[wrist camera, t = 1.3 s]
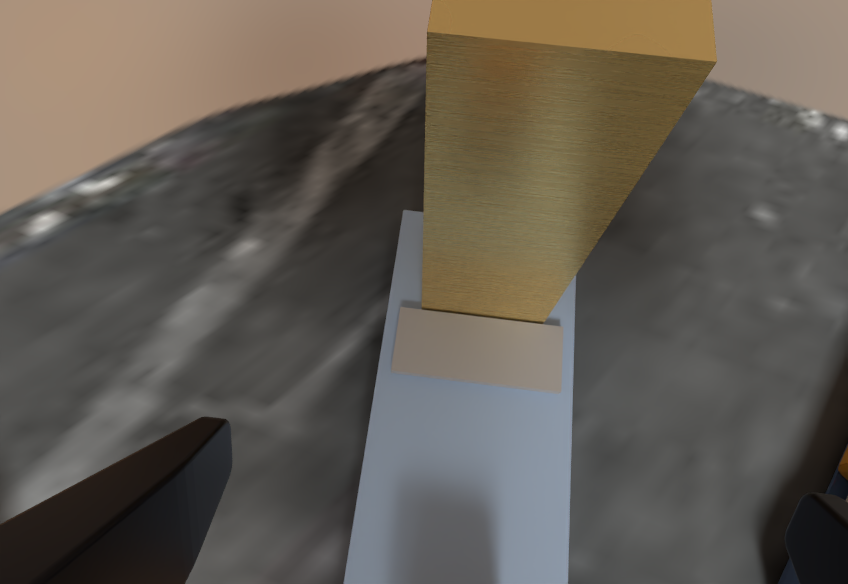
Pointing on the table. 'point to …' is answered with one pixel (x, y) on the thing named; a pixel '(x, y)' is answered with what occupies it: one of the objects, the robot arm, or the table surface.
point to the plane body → (465, 443)
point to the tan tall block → (543, 137)
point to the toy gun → (843, 485)
